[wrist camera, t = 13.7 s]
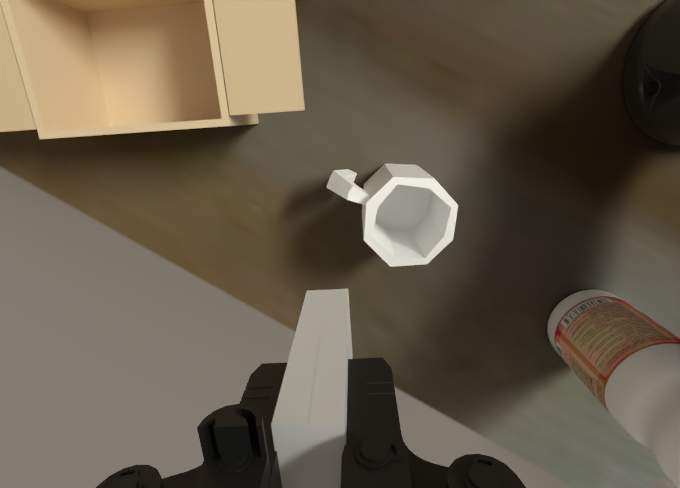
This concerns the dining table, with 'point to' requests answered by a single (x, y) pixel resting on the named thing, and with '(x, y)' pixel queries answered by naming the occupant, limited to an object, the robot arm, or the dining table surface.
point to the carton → (145, 64)
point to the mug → (401, 212)
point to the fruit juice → (624, 368)
